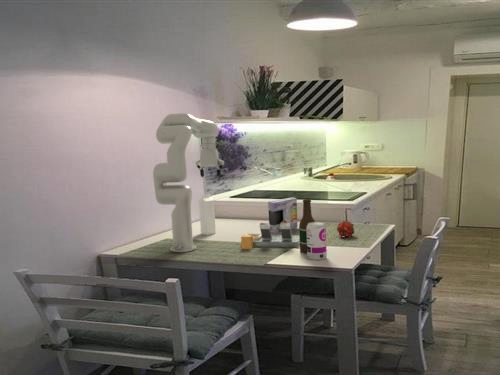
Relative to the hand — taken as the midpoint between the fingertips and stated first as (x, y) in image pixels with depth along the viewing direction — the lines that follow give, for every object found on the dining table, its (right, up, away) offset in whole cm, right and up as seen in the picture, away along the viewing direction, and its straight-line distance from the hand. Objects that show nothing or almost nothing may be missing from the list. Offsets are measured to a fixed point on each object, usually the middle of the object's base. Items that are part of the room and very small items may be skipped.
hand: (210, 176), depth 267 cm
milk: (-1, -32, -5) cm, 33 cm away
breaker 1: (+31, -31, -37) cm, 58 cm away
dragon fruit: (+72, -32, -28) cm, 83 cm away
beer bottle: (+49, -36, -55) cm, 82 cm away
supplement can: (+51, -37, -66) cm, 91 cm away
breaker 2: (+41, -31, -40) cm, 65 cm away
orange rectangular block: (+21, -35, -43) cm, 60 cm away
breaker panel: (+34, -34, -36) cm, 60 cm away
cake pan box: (+41, -31, -7) cm, 52 cm away
